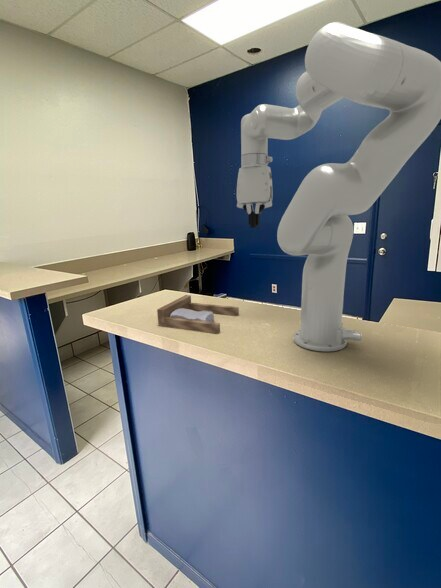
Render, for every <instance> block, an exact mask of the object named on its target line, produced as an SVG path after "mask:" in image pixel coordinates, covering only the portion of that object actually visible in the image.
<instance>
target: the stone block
mask: <svg viewBox="0 0 441 588" xmlns="http://www.w3.org/2000/svg"><path fill="white" fill-rule="evenodd" d="M170 317H172V318H181V319H189V320H197V321H206V322H214V320H215V319H214V318H215V317H214V314H213V312H211V311H201V312H200V311H199V312H198V311H193V310H189V309H184V308H181V309H177V310H175V311H173V312H172V313H171V314H170Z"/></svg>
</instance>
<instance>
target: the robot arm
mask: <svg viewBox="0 0 441 588" xmlns="http://www.w3.org/2000/svg"><path fill="white" fill-rule="evenodd" d="M304 67H305V72H303V73H302V74H301V75H300V77H299V78H298V80H297V82H296V86H295V87H296V88H295V94H296V99H297V101H298V105H297V106H296V107H293V108H290V107H286V106H280V105H274V104H267V103H263V104H259V105H257V106H255V108H254V109H253V110H252V111H251V112H250V113H247V114H245V115H244V116H242V118H241V121H240V144H241V146H240V147H241V151H240V152H241V153H240V154H241V157H240V158H241V159H240V161H241V163H240V165H241V167H239V169H238V173H237V182H236V201H237V202H236V207H237V208H238V209H242V210H243V209H244V211H245V212H246V213H247V214H248V225H249V226H250V227H249V228H251V229H254V228H259V226H260V223H261V222H260V221H261V220H260V218H261V217H260V214H261V213H262V212H263V211H264V210H265V209H267V208H271V207H272V206H273V196H274V195H273V194H274V193H273V191H274V190H273V178H272V170H271V167H270V166H268V165H269V163H272V162H273V159H274V158H273V156H269V155H268V154H269V153H268V150H269V149H268V141H269V140H268V139H274V140H275V139H276V140H284V141H289V140H294V139H297V138H299V137H300V136H302V135H304V134H306V133H307V132H309V131H311V130H312V129H313V128H314V127H315V126H316V124H317V123H318V121H319V120H320V117H321V116H322V112H323V111H325V110H326V109H327V108H329V107H331V106H332V105H334V104H336V103H337V102H339V101H340V100H342V99H344V98H345V99H347V100H349V101H350V102H354V103H356V104H359V105H364V106H369V107H373V108H378V109H384V110H388V111H389V113H388V114H389V115H388V116H387V117H385V119H383V120H382V121H381V122H379V124H377V125H376V126H375V127H374V128H372V129H371V130H370V132H369V133H368V134H367V135H366V136H365V137H364V139H363V140H362V141H361V144H360V145H359V147H358V148H357V150H356V151H355V152H354V154H353V156H351V158H350V159H349V160H348V161H347V162H345V163H339V162H338V163H334V162H330V163H329V162H328V163H323V164H320V165H318V166H316V167H314V168H313V169H311V171H309V172H308V173H307V175H306V176H305V177H303V178H304V179H303V180H302V181H301V183H300V185H299V187H298V188H297V191H296V192H295V194H294V195H293V196H292V199H291V201H290V203H289V204H288V206H287V208H286V209H285V211H284V213H283V215H282V217H281V220H280V222H279V224H278V226H277V232H276V233H277V234H276V237H277V239H276V241H277V243H278V246H279V247H280V249H281V251H283V252H284V253H285V254H287V255H290V256H295V257H296V256H299V257H300V256H307V258H306V259H305V262H304V265H303V269H302V280H301V281H302V282H301V302H300V303H301V305H300V326H299V327H300V329H299V330H297V331H295V332H294V333H293V341H294V342H295V344H296V345H298V346H299V347H301V348H304V349H306V350H311V351H315V352H326V353H327V352H335V351H339V350H342V349H344V348H346V346H347V345H348V340H351V341H358V342H362V336H363V335H362V332H357V330H356V329H351V328H350V329H349V328H346V327H344V322H342V321H343V309H344V296H345V295H344V294H345V283H346V273H347V262H348V256H349V254H350V250H351V246H352V242H353V238H354V224H353V222H352V220H351V218H350V217H349V216H354V215H360V214H363V213H365V212H366V211H368V210H369V209H370V208H371V207H373V204H374V203H375V202H376V201H377V200H378V198H379V197H380V196H381V195H382V193H383V192H384V191H385V190H386V189H387V187H388V186H389V184H390V183H391V182H392V181H393V179H395V177H396V176H397V175H398V174H399V172H400V171H401V169H402V168H403V166H405V164H406V163H407V161H409V159H410V158H411V157H412V156H413V154H414V153H415V152H416V151H417V150H418V148H419V147H421V145H422V144H423V143H424V142H425V141H426V140H427V138H428V137H429V136H430V135H431V134H432V132H433V131H434V130H435V129H436V127H437V125H438V124H439V123H440V120H441V60H439V59H438V58H437V57H435V56H434V55H432V54H431V53H428V52H427V51H424V50H422V49H419V48H417V47H413V46H410V45H407V44H405V43H402V42H400V41H398V40H395V39H391V38H389V37H386V36H383V35H380V34H376V33H372V32H369V31H366V30H365V29H364V30H363V29H360V28H357V27H356V26H353V25H350V24H347V23H344V22H342V21H333V22H329V23H327V24H325V25H324V26H323V27H321V28H320V29H319V30H317V32H316V33H315V34H314V35H313V37H312V38H311V40H310V42H309V43H308V46H307V48H306V52H305V55H304ZM253 204H255V206H254V205H253ZM254 207H255V208H254Z"/></svg>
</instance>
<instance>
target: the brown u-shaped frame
mask: <svg viewBox="0 0 441 588" xmlns="http://www.w3.org/2000/svg"><path fill="white" fill-rule="evenodd" d="M181 308H184V309H189V310H193V311H198V312H199V311H200V312H201V311H211V312H213V315H214V314H215V315H223V316H233V317H238V316H239V315H240V313H239V312H240V310H239V309H240V307H239V306H231V305H230V306H229V305H221V304H220V305H219V304H211V303H210V304H209V303H201V302H200V303H199V302H192V295H189V294H185V295H183V296H181V297H179V298H177V299H175V300H173V301H171V302H169V303H167V304H165V305H163V306H162V307H159V308H157V309H156V310H157V311H156V313H157V324H158V325H157V326H158V327H164V328H165V327H167V328H172V329H181V330H187V331H188V330H189V331H194V332H201V333H203V332H204V333H210V334H211V333H212V334H219V333H220V332H221V324H220V322H214V321H213V322H206V321H197V320H189V319H181V318H172V317H170V314H171V313H172V312H173V311H175V310H177V309H181Z"/></svg>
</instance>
